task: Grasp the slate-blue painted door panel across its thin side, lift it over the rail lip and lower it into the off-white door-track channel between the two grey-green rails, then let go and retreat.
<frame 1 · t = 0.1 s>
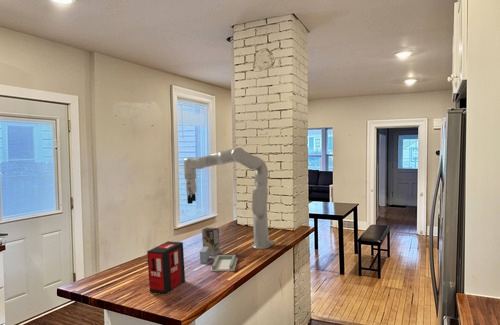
hand: (191, 202, 227), 31 cm above the kitchen island, fingers open, 9 cm apart
coffee box: (211, 254, 215), on the kitchen island
cleaning product box: (168, 287, 167), on the kitchen island
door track: (224, 265, 193), on the kitchen island
door panel: (204, 260, 203), on the kitchen island
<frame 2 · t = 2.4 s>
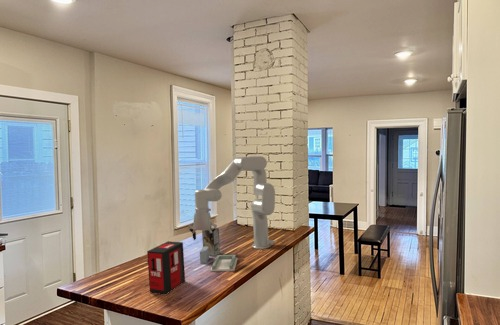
hand: (202, 239, 202), 13 cm above the kitchen island, fingers open, 9 cm apart
nothing on the kitchen island moved.
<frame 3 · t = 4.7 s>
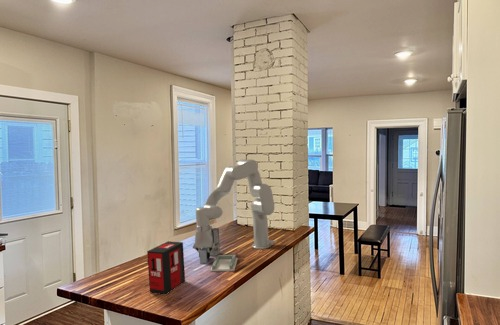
hand: (204, 258, 203), 1 cm above the kitchen island, fingers closed on door panel, 3 cm apart
door panel: (204, 260, 203), on the kitchen island, touching gripper
everything else where it was.
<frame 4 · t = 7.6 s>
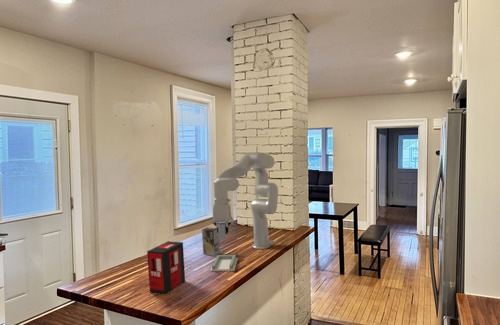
hand: (222, 233, 192), 18 cm above the kitchen island, fingers closed on door panel, 3 cm apart
door panel: (223, 235, 192), point 17 cm above the kitchen island, touching gripper
everything else where it was.
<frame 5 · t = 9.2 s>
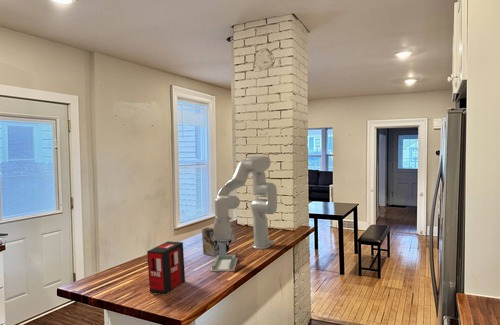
hand: (223, 251, 193), 8 cm above the kitchen island, fingers closed on door panel, 3 cm apart
door panel: (223, 253, 193), point 7 cm above the kitchen island, touching gripper
everything else where it was.
when the fingers open (4 cm above the kitchen island, at t = 10.8 s): door panel drops 1 cm, resting on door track.
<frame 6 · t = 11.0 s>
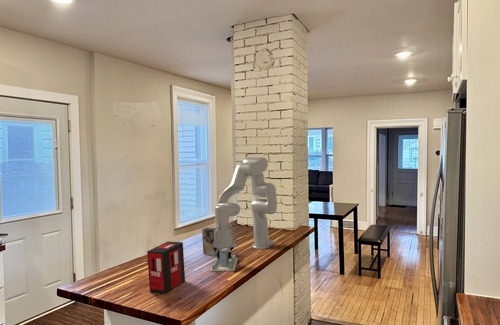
hand: (224, 258, 193), 4 cm above the kitchen island, fingers open, 5 cm apart
door panel: (224, 263, 193), point 1 cm above the kitchen island, touching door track
everything else where it was.
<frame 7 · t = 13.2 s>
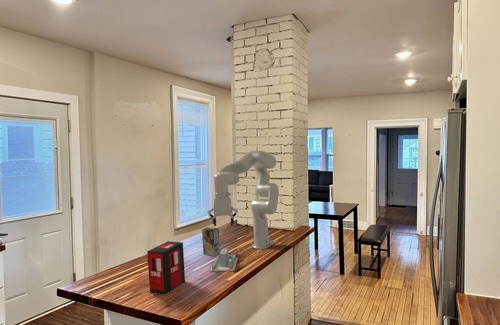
hand: (223, 225, 194), 22 cm above the kitchen island, fingers open, 9 cm apart
nothing on the kitchen island moved.
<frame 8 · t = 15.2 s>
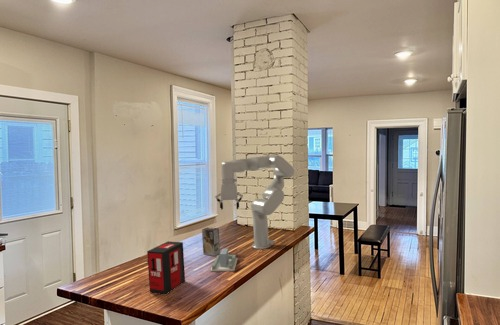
hand: (229, 209, 212), 28 cm above the kitchen island, fingers open, 9 cm apart
nothing on the kitchen island moved.
at the end: door panel inside the target area on the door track (0.1 cm from its centre), point 1.0 cm above the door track's base; door panel tilted 0°; the gripper is holding nothing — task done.
